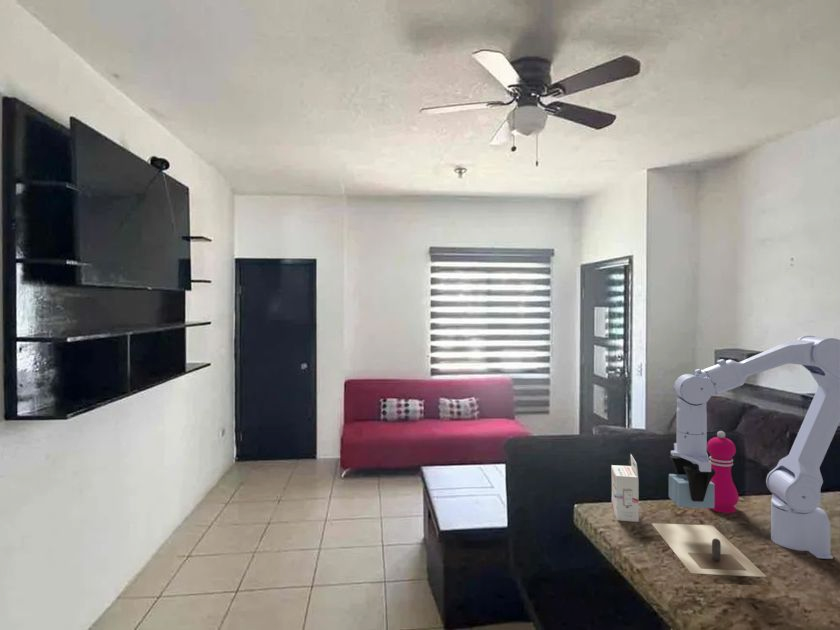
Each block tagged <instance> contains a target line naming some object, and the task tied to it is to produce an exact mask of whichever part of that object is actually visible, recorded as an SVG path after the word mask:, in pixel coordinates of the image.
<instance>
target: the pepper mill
mask: <svg viewBox="0 0 840 630" xmlns="http://www.w3.org/2000/svg"><path fill="white" fill-rule="evenodd" d="M736 449H737V448H736V445H735V443H734V442H733V441H732V440H731V439H729V438H727V437H726V432H724V431H723V430H719V431H717V433H716V436H714V437H712V438H710V439H709V440H708V441H707V453H709V455H710V456H708V458H709V461H710V462H711V468H712V469H714V470H715V475H714V476H713V478H712V479H711V482H712V483H714V484H715V489H714V508H708V510H711V511H715V512H719V513H722V514H723V513H724V514H725V513H726V514H732V513H736V512H737V509H736V507H735V505H737V504H738V503H739V493H738V490H737V487H736V485H735V483H734V481H733V477H732V466H733V465H734V463H733V462H734V459H733V457H734V456H735V454H736V452H737V450H736Z"/></svg>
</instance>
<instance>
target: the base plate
mask: <svg viewBox="0 0 840 630" xmlns="http://www.w3.org/2000/svg"><path fill="white" fill-rule="evenodd" d="M651 525H652V526H653V527H654V529H655V530H656V531H657V532H658V534H659V535H660V536H661V538H662V539H663V540H664V541H665V542H666V544H667V545H668V546H669V548H670V549H671V550H672V551H673V553H674V554H675V555H676V556H677V558H678V559H679V560H680V561H681V563H682V564H683V566H684V567H685V568H686V569H687V570H688V572H689V573H690V574H693V575H694V574H698V575H715V576H716V575H717V576H736V577H737V576H738V577H758V578H759V577H760V578H768V576H767V575H766V574H765V573H763V571H761V570H760V568H758V567H757V565H755V564H754V563H753V562H752V561H751V560H750V559H749V558H748V557H747V556H746V555H745V554H743V553H742V551H740V550H739V549H738V547H736V546H735V545H734V544H733V543H732V542H731V541H730V540H729V539H727V538H726V536H725V535H723V534H722V533H721V532H720V531H719V530H718V529H717V528H716V527H715V526H714V525H710V524H686V523H685V524H683V523H657V522H656V523H655V522H651Z"/></svg>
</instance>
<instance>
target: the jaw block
mask: <svg viewBox="0 0 840 630" xmlns="http://www.w3.org/2000/svg"><path fill="white" fill-rule="evenodd" d="M714 489H715V484H714V483H712V482H711V481H710V483H709V485H708V488H707V491H706V494H705V498H704V501H703V502H699V501H692V499H691V495H690V487H689V481H688V478H687V475H685V474H676V473H668V498H669V499H670V500H671V501H673V503H674V504H675V505H676V506H677V507H678V508H696V509H700V508H701V509H709V508H714Z"/></svg>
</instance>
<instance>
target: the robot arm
mask: <svg viewBox="0 0 840 630" xmlns="http://www.w3.org/2000/svg"><path fill="white" fill-rule="evenodd" d="M716 363H717V364H714V365H712V366H708V367H706V368H703V369H700V368H697V369H695V370H694V374H692V373H684V374H682V375H680V376H678V377H677V379H675V380H674V384H673V385H672V391H673V393H674V394H675V395H676V429H675V430H676V442H674V443H673V450H670V455H669V459H670V461H671V464H672V465H673V468H674V471H675V474H685V475H687V478H688V481H689V487H690V495H691V499H692V501H699V502H703V501H704V498H705V494H706V491H707V488H708V485H709V483H710V481H711V479H712V478H713V476H714V475H715V470H714V469H712V468H711V462H710V461H709V460H710V458H709V454H708V450H707V444H708V441H707V439H708V438H707V437H708V434H707V433H708V429H707V428H708V425H707V423H708V422H707V421H708V411H707V403H708V401H709V400H710V399H711V398H712V397H714V396H717V395H719V394H723V393H725V392H728V391H730V390H733V389H735V388H738V387H741V386H743V385H744V384H745V383H746V381H747V379H748V377H750V376H754V375H756V374H760V373H763V372H766V371H769V370H773V369H775V368H778V367H782V366H783V365H787V364H792V365H801V366H802V367H804V368H805V369H806V371H808V372H809V373H810V374H811V376H812V377H813V379H814V380H815V382H816V383H817V385H818V386H817V389H816V391H815V394H814V396H813V398H812V400H811V403H810V405H809V407H808V408H807V412H806V414H805V416H804V418H803V421H802V422H801V425H800V428H799V430H798V431H797V435H796V437H795V439H794V441H793V444H792V446H791V449H790V451H789V454H787V455H786V456H784V457H782V458H781V459H779V460H778V462H777V465H776V466H775V467H774V468H773V469H771V470H770V471H769V472H768V473H767V476H766V479H765V485H766V487H767V489H768V490H769V492H770V493H771V495H772V496H771V499H770V502H771V503H770V507H771V508H770V512H771V513H770V540H771V541H772V542H773V543H775V544H776V545H778V546H781V547H783V548H786V549H790V550H795V551H804V552H805V551H807V552H809V553H810V554H812V555H813V556H814V557H816V558H817V559H825V560H832V559H833V558H834V556H833V555H832V554H831V522H830V519H829V516H828V514H827V513H826V511H825V510H824V509H823V508H822V507H821V508H820V507H819V506H820V504H821V501H822V494H821V488H822V485H823V483H824V480H823V476H822V473H821V469H820V467H821V465H822V463H823V461H824V458H825V457H826V454H827V451H828V449H829V448H830V445H831V442H832V441H833V439H834V436H835V434H836V431H837V429H838V427H839V425H840V339H838V338H836V337H835V338H834V337H820V336H819V337H818V336H814V335H803V336H800V337H799V338H797V339H796V338H795V339H790V340H788V341H787V340H786V342H783V343H780V344H778V345H776V346H773V347H772V348H771V347H770V348H769V349H767V350H765V351H762V352H759V353H757V354H755V355H752V356H750V357H748V358H746V359H743V360H741V361H739V362H738V361H736V360H733V359H723V358H720V359H718V360H716ZM833 560H834V559H833Z"/></svg>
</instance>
